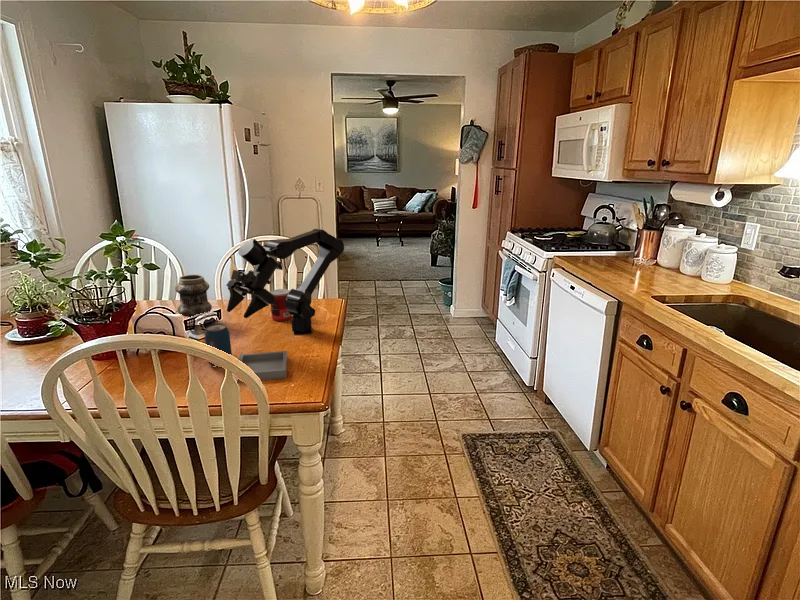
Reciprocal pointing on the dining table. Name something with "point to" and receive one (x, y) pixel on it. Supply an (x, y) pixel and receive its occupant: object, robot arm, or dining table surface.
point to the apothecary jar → (192, 295)
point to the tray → (267, 364)
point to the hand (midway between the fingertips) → (236, 314)
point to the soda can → (218, 338)
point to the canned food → (280, 305)
